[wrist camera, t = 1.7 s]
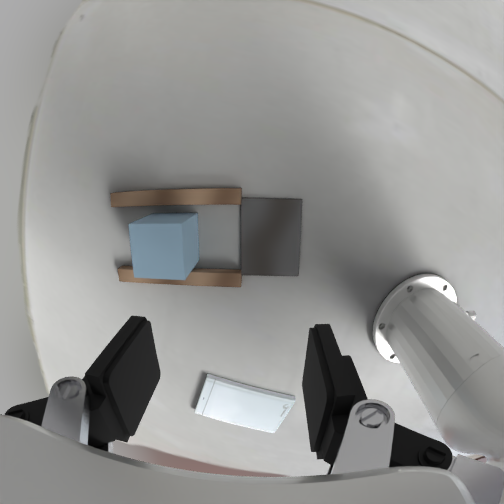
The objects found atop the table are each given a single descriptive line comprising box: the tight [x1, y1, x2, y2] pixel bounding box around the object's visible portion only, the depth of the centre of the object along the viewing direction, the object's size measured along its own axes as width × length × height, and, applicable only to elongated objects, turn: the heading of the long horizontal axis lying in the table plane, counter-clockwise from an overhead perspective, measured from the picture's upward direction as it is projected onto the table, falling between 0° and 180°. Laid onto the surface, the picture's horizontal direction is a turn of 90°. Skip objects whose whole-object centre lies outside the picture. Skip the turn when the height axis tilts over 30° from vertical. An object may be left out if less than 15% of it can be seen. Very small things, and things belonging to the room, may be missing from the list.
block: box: [129, 213, 199, 280], centre depth 27 cm, size 5×5×6 cm
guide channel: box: [110, 188, 302, 287], centre depth 29 cm, size 20×10×1 cm, turn 90°
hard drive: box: [194, 374, 296, 433], centre depth 36 cm, size 2×8×12 cm
